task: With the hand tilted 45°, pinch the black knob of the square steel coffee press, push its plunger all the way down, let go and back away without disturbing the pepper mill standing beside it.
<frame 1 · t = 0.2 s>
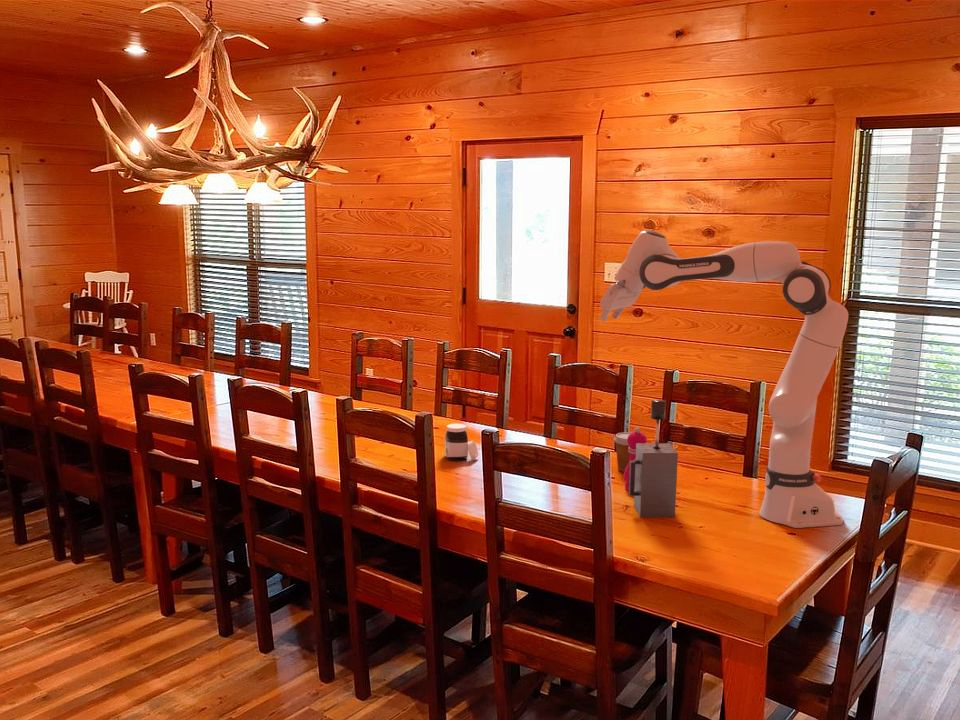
hand: (608, 319, 268), 54 cm above the table, tool tilted 25°, fingers open, 8 cm apart
press plunger: (657, 429, 251), point 25 cm above the table, slide at 0.0 cm
spread jar: (462, 459, 308), on the table
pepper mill: (634, 489, 275), on the table
press carafe: (654, 511, 256), on the table
disposable coffee cup: (627, 470, 295), on the table
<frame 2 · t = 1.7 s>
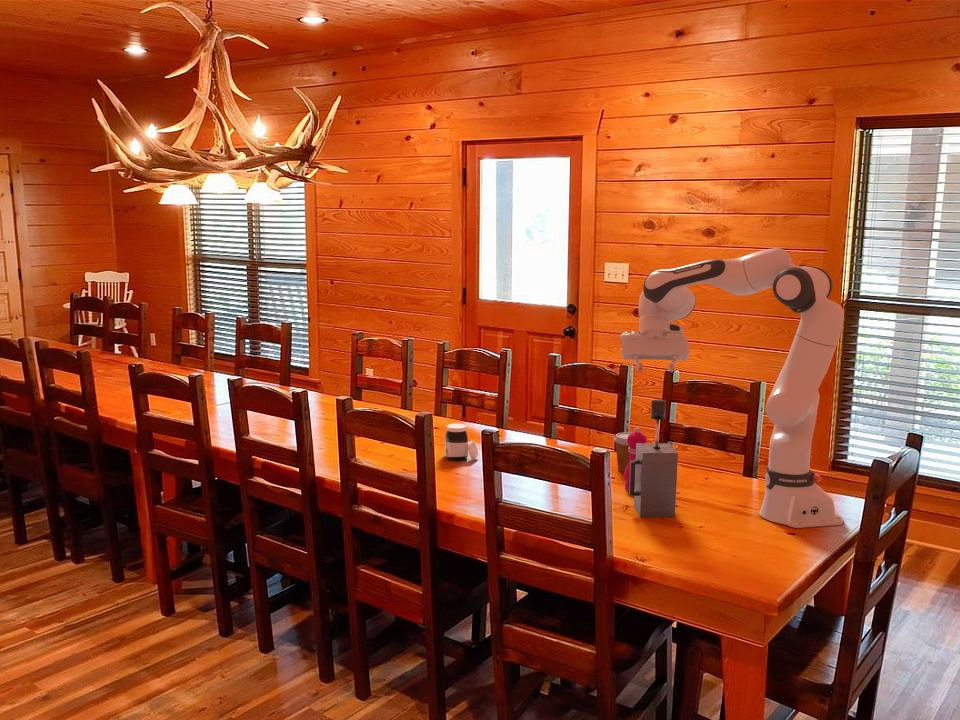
hand: (655, 369, 261), 40 cm above the table, tool tilted 45°, fingers open, 8 cm apart
nothing on the table moved.
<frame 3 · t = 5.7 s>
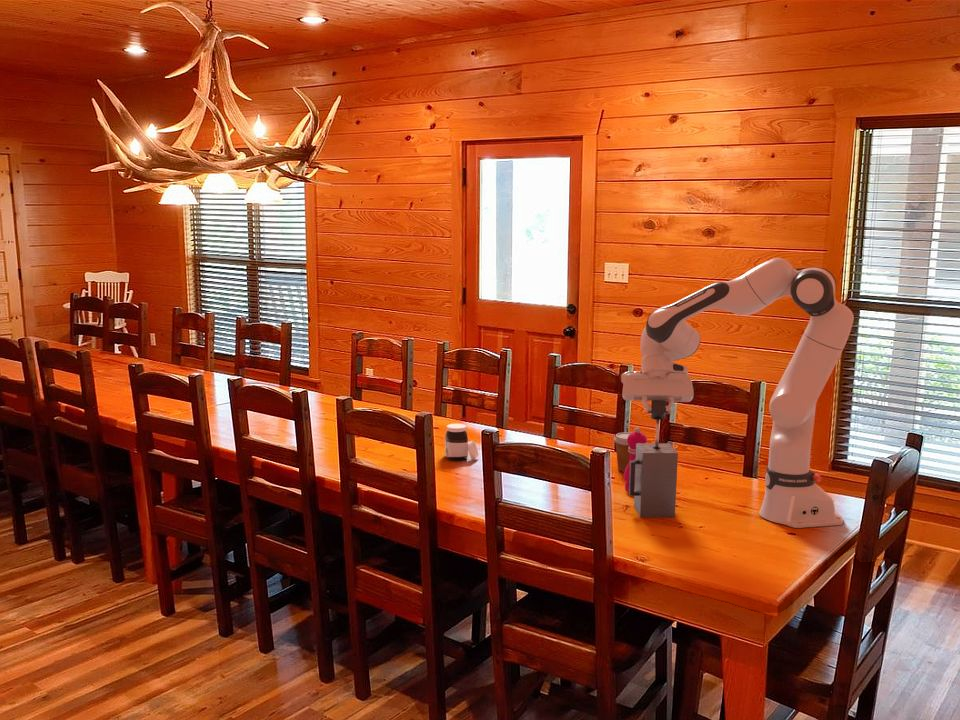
hand: (658, 412, 250), 30 cm above the table, tool tilted 45°, fingers closed on press plunger, 4 cm apart
press plunger: (657, 429, 251), point 25 cm above the table, slide at 0.0 cm, touching gripper
everything else where it was.
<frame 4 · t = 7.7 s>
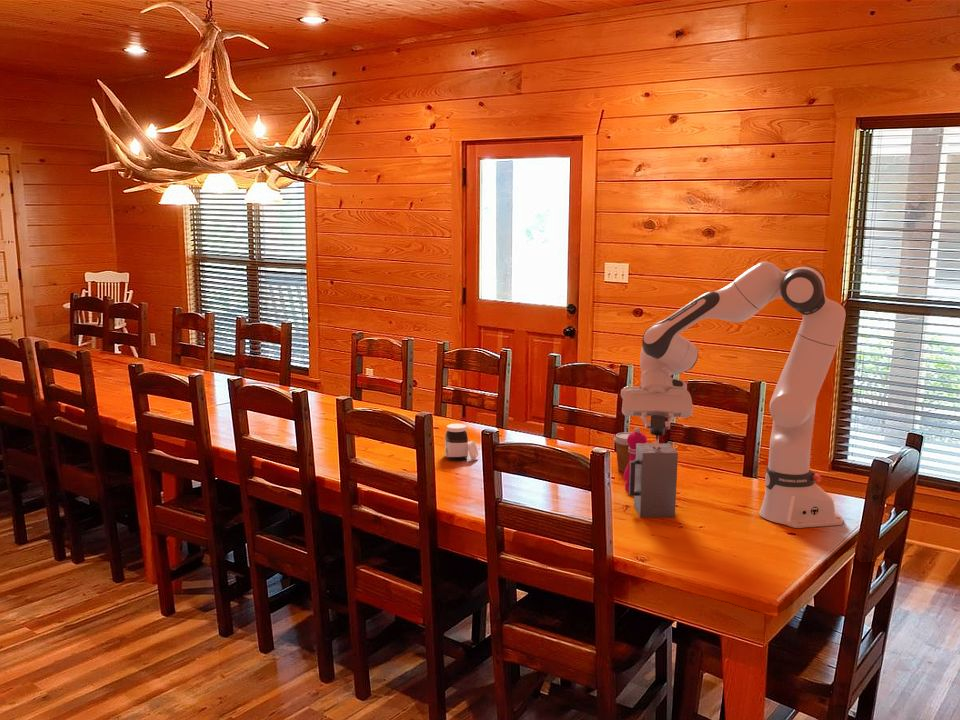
hand: (657, 427, 251), 25 cm above the table, tool tilted 45°, fingers closed on press plunger, 4 cm apart
press plunger: (656, 445, 252), point 20 cm above the table, slide at 4.6 cm, touching gripper
everything else where it was.
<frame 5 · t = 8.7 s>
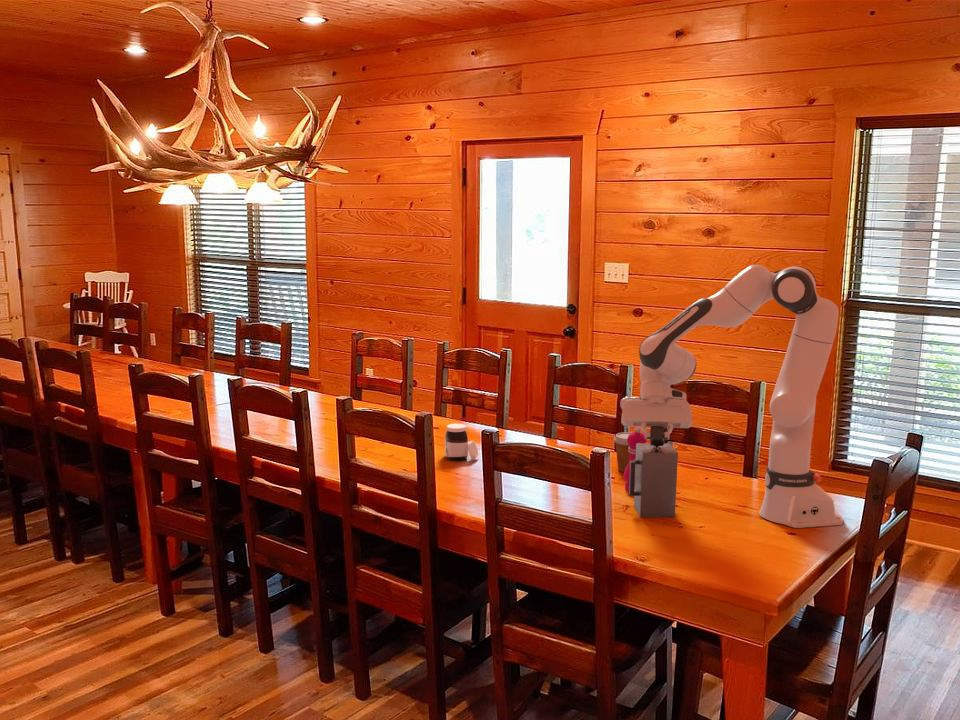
hand: (657, 438, 251), 22 cm above the table, tool tilted 45°, fingers closed on press plunger, 4 cm apart
press plunger: (656, 455, 253), point 17 cm above the table, slide at 7.7 cm, touching gripper
everything else where it was.
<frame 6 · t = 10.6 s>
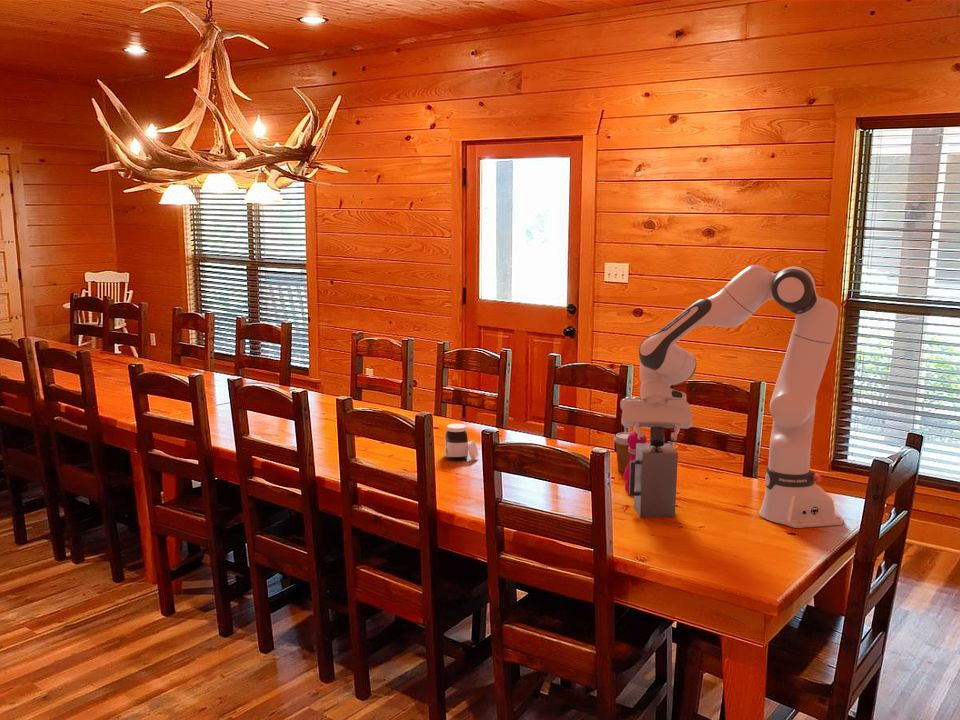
hand: (657, 439, 251), 22 cm above the table, tool tilted 45°, fingers open, 8 cm apart
press plunger: (656, 456, 253), point 17 cm above the table, slide at 7.9 cm
everything else where it was.
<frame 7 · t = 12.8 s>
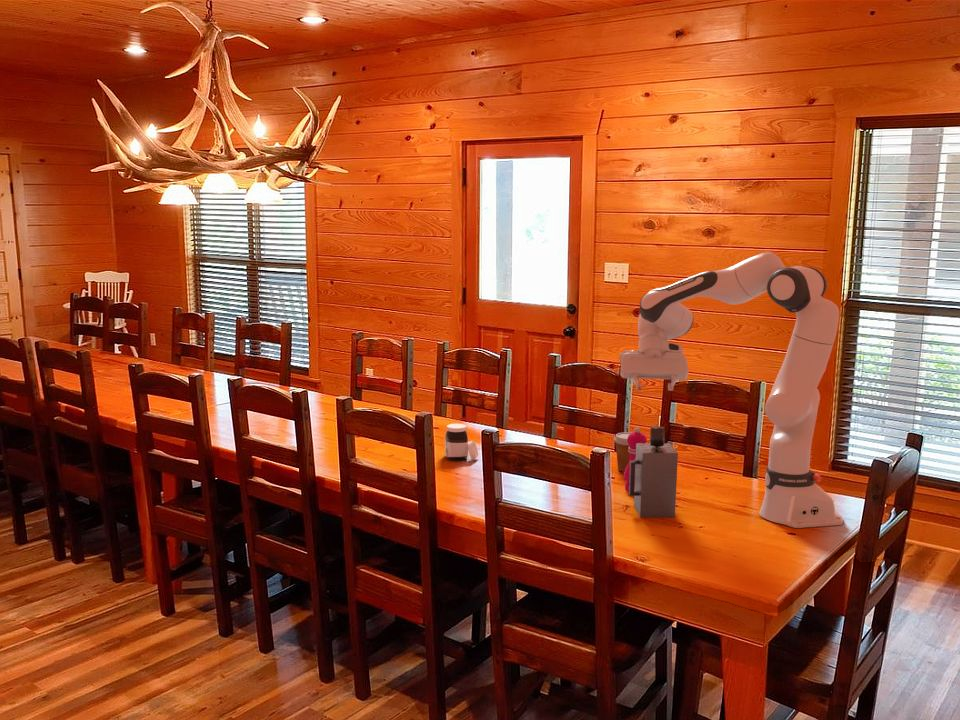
hand: (654, 389, 261), 34 cm above the table, tool tilted 45°, fingers open, 8 cm apart
nothing on the table moved.
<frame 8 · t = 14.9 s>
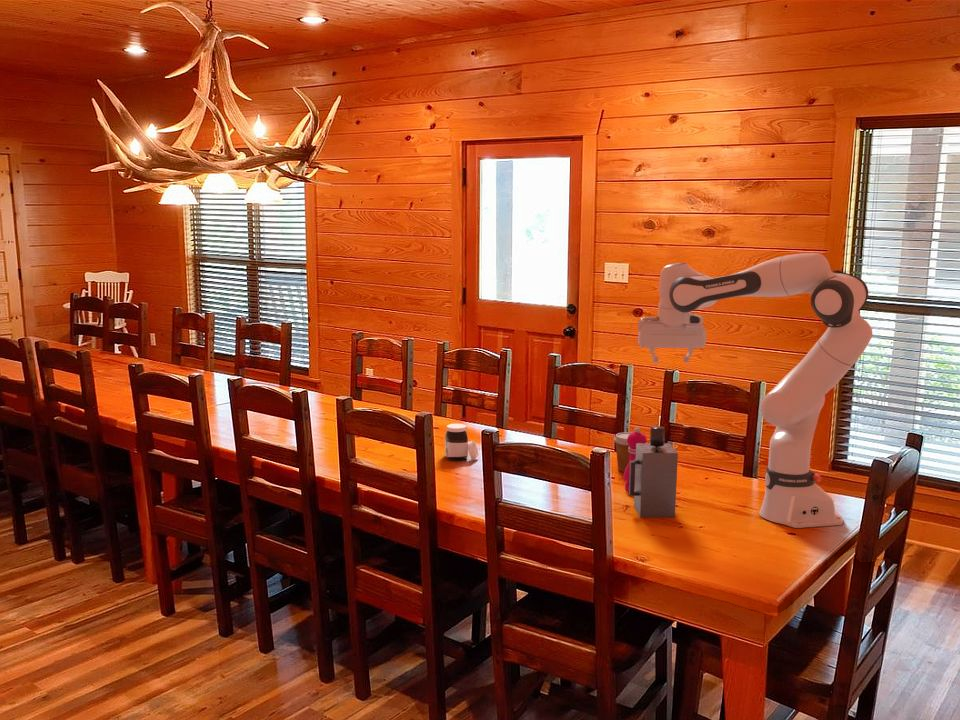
hand: (670, 362, 266), 41 cm above the table, tool pointing down, fingers open, 8 cm apart
nothing on the table moved.
at the end: press plunger slide at 7.9 cm; the gripper is holding nothing; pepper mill tilted 0° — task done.
